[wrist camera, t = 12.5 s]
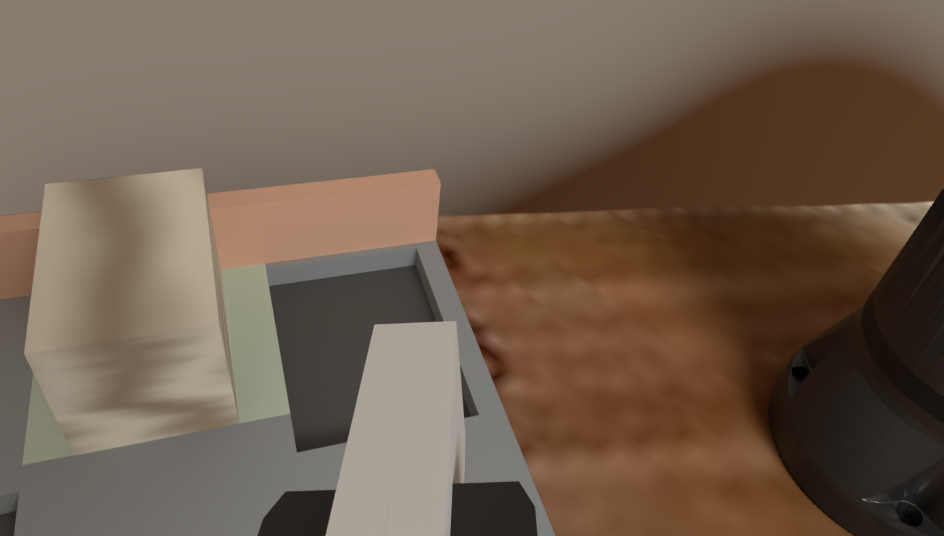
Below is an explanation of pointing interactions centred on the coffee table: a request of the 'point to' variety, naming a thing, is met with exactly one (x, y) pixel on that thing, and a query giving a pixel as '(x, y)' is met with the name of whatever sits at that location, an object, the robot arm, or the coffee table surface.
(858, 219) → the coffee table surface
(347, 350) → the box
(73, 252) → the block
